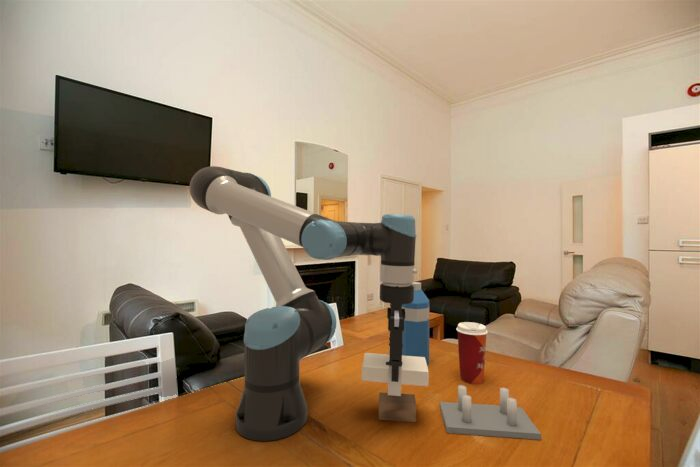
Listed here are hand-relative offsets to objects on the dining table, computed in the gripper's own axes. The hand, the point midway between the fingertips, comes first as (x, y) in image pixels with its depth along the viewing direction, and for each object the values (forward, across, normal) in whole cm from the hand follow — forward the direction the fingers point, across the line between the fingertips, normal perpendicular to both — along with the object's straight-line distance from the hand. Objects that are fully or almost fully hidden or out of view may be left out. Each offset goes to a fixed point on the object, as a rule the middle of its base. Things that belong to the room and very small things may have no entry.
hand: (394, 384), depth 73 cm
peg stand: (+6, 0, -20) cm, 21 cm away
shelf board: (-2, 0, 0) cm, 2 cm away
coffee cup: (+7, +21, -22) cm, 31 cm away
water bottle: (+7, +31, -7) cm, 32 cm away
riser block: (+7, 0, -1) cm, 7 cm away
